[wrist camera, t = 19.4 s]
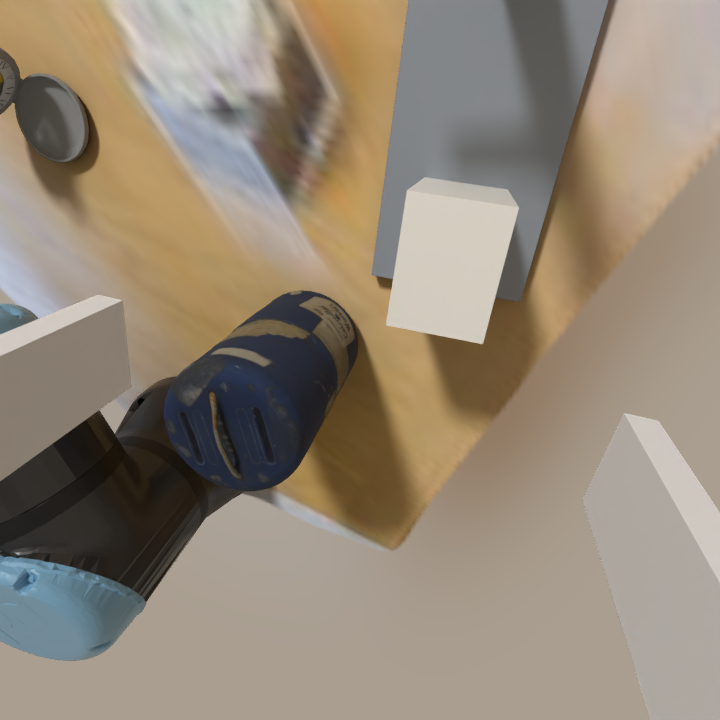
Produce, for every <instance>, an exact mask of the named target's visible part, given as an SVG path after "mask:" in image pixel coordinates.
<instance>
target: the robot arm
mask: <svg viewBox="0 0 720 720" xmlns="http://www.w3.org/2000/svg"><path fill="white" fill-rule="evenodd" d="M176 378H177V377H170V378H166V379H163V380H160V381H158V382H156V383H155V384H153V385H152V386H151V387H149V388H148V389H147V390H146V391H144V392H143V393H142V394H140V395H139V396H138V397H137V398H136V400H135V401H134V402H133V403H132V405H131V406H130V408H129V410H128V412H127V413H126V415H125V417H124V419H123V421H122V422H121V424H120V426H119V428H118V429H117V431H116V433H115V434H114V432H113V431H112V429H111V428H110V426H109V425H108V423H107V421H106V420H105V418H104V417H103V415H102V414H101V412H100V411H99V410H100V409H101V408H103V407H104V406H105V405H107V404H108V403H110V402H111V401H112V400H114V399H115V398H116V397H118V396H119V395H121V394H122V393H123V392H125V391H126V390H128V389H129V388H130V387H131V379H130V369H129V359H128V348H127V338H126V328H125V318H124V308H123V300H119V299H115V298H110V297H106V296H101V295H96V296H93V297H91V298H88V299H86V300H83V301H81V302H78V303H76V304H74V305H71V306H69V307H66V308H64V309H61V310H59V311H57V312H54V313H52V314H49V315H47V316H44V317H42V318H39V319H38V317H37V316H36V315H35V314H34V313H32V312H31V311H30V310H28V309H26V308H24V307H21V306H18V305H14V304H0V641H1V642H3V643H5V644H7V645H10V646H12V647H14V648H17V649H19V650H22V651H25V652H28V653H30V654H34V655H36V656H40V657H45V658H49V659H55V660H63V661H77V660H84V659H89V658H92V657H95V656H97V655H99V654H101V653H102V652H104V651H106V650H107V649H108V648H109V647H111V645H113V644H114V642H115V641H116V640H117V639H118V637H119V636H120V635H121V634H122V633H123V631H124V630H125V629H126V628H127V627H128V626H129V624H130V623H131V622H132V621H133V619H134V618H135V617H136V616H137V615H138V614H139V613H141V612H142V611H143V609H144V607H145V605H146V602H147V600H148V599H149V597H150V596H151V594H152V593H153V592H154V590H155V589H156V587H157V586H158V584H159V583H160V582H161V580H162V579H163V578H164V576H165V575H166V573H167V572H168V570H169V569H170V568H171V566H172V565H173V563H174V562H175V561H176V559H177V558H178V556H179V555H180V553H181V552H182V550H183V549H184V548H185V546H186V545H187V544H188V542H189V541H190V539H191V538H192V536H193V535H194V534H195V532H196V531H197V529H198V528H199V526H200V525H201V524H202V522H203V521H204V519H205V518H206V517H208V516H209V515H210V514H212V513H213V512H215V511H216V510H218V509H219V508H220V507H222V506H223V505H224V504H226V503H227V502H229V501H230V500H231V499H233V498H235V497H237V496H238V495H240V494H241V493H242V492H243V491H240V490H234V489H230V488H226V487H223V486H220V485H218V484H215V483H213V482H212V481H210V480H208V479H206V478H204V477H203V476H201V475H200V474H198V473H197V472H196V471H195V470H194V469H192V468H191V467H190V466H189V465H188V464H187V463H186V462H185V461H184V460H183V458H182V457H181V456H180V455H179V453H178V452H177V450H176V449H175V447H174V445H173V444H172V442H171V440H170V438H169V435H168V433H167V429H166V425H165V420H164V405H165V399H166V396H167V393H168V390H169V388H170V386H171V385H172V383H173V381H174V380H175V379H176ZM583 504H584V507H585V510H586V514H587V516H588V520H589V523H590V527H591V529H592V533H593V536H594V539H595V542H596V546H597V549H598V552H599V556H600V559H601V562H602V565H603V569H604V571H605V575H606V578H607V581H608V585H609V587H610V591H611V594H612V598H613V601H614V604H615V607H616V610H617V614H618V617H619V620H620V623H621V626H622V630H623V633H624V636H625V639H626V642H627V646H628V649H629V652H630V655H631V659H632V662H633V665H634V668H635V672H636V675H637V678H638V681H639V685H640V688H641V691H642V694H643V697H644V701H645V704H646V707H647V710H648V714H649V717H650V720H720V512H719V511H718V510H717V508H716V506H715V505H714V503H713V502H712V500H711V499H710V497H709V496H708V494H707V493H706V491H705V490H704V488H703V487H702V485H701V484H700V482H699V481H698V479H697V478H696V477H695V475H694V473H693V472H692V470H691V469H690V467H689V466H688V464H687V463H686V462H685V460H684V458H683V457H682V455H681V454H680V452H679V451H678V450H677V448H676V447H675V445H674V444H673V442H672V441H671V439H670V438H669V436H668V435H667V433H666V432H665V430H664V429H663V427H662V426H661V424H660V423H659V421H657V420H653V419H648V418H644V417H639V416H635V415H630V414H626V413H624V414H623V416H622V418H621V421H620V423H619V425H618V427H617V429H616V431H615V433H614V435H613V437H612V439H611V441H610V444H609V446H608V448H607V450H606V452H605V454H604V456H603V458H602V460H601V462H600V464H599V466H598V469H597V471H596V473H595V475H594V477H593V479H592V481H591V483H590V485H589V487H588V489H587V491H586V494H585V496H584V498H583Z"/></svg>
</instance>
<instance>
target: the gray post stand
mask: <svg viewBox="0 0 720 720" xmlns="http://www.w3.org/2000/svg"><path fill="white" fill-rule="evenodd" d="M607 4H608V0H408V7H407V15H406V22H405V30H404V37H403V45H402V52H401V60H400V67H399V75H398V82H397V90H396V97H395V104H394V112H393V119H392V127H391V134H390V142H389V149H388V157H387V164H386V172H385V179H384V187H383V194H382V202H381V209H380V217H379V224H378V231H377V239H376V246H375V254H374V261H373V269H372V275H374V276H379V277H385V278H390V279H393V276H394V270H395V264H396V257H397V251H398V244H399V238H400V232H401V225H402V219H403V212H404V206H405V200H406V193H407V190H408V189H409V188H411V187H412V186H414V185H415V184H416V183H418V182H419V181H420V180H422V179H423V178H424V177H427V178H434V179H441V180H448V181H454V182H461V183H468V184H475V185H481V186H488V187H495V188H502V189H508V191H509V192H510V194H511V195H512V197H513V199H514V200H515V202H516V203H517V205H518V207H519V210H518V214H517V217H516V221H515V225H514V229H513V232H512V236H511V240H510V244H509V247H508V251H507V255H506V259H505V263H504V266H503V270H502V274H501V278H500V281H499V285H498V289H497V293H496V296H495V298H500V299H505V300H511V301H516V302H520V301H521V297H522V294H523V290H524V287H525V284H526V280H527V277H528V273H529V270H530V267H531V263H532V260H533V256H534V253H535V249H536V246H537V243H538V239H539V236H540V232H541V229H542V226H543V222H544V219H545V215H546V212H547V208H548V205H549V202H550V198H551V195H552V191H553V188H554V185H555V181H556V178H557V174H558V171H559V167H560V164H561V161H562V157H563V154H564V150H565V147H566V144H567V140H568V137H569V133H570V130H571V126H572V123H573V120H574V116H575V113H576V109H577V106H578V103H579V99H580V96H581V92H582V89H583V86H584V82H585V79H586V75H587V72H588V68H589V65H590V62H591V58H592V55H593V51H594V48H595V45H596V41H597V38H598V34H599V31H600V27H601V24H602V21H603V17H604V14H605V10H606V7H607Z"/></svg>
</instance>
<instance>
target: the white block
mask: <svg viewBox="0 0 720 720" xmlns="http://www.w3.org/2000/svg"><path fill="white" fill-rule="evenodd" d="M518 210H519V207H518V205H517V203H516V202H515V200H514V199H513V197H512V195H511V194H510V192H509V191H508V189H502V188H495V187H488V186H481V185H475V184H468V183H461V182H454V181H448V180H441V179H434V178H427V177H424V178H423V179H422V180H420V181H419V182H418V183H416V184H415V185H414V186H412V187H411V188H409V189H408V190H407V193H406V200H405V206H404V212H403V219H402V225H401V232H400V238H399V244H398V251H397V257H396V264H395V270H394V276H393V283H392V289H391V296H390V302H389V308H388V315H387V321H386V325H388V326H393V327H398V328H403V329H408V330H413V331H418V332H423V333H428V334H433V335H438V336H443V337H448V338H453V339H458V340H464V341H469V342H474V343H479V344H483V342H484V338H485V334H486V330H487V327H488V323H489V319H490V315H491V311H492V308H493V304H494V300H495V296H496V293H497V289H498V285H499V281H500V278H501V274H502V270H503V266H504V263H505V259H506V255H507V251H508V247H509V244H510V240H511V236H512V232H513V229H514V225H515V221H516V217H517V214H518Z"/></svg>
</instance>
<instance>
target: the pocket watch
mask: <svg viewBox="0 0 720 720" xmlns="http://www.w3.org/2000/svg"><path fill="white" fill-rule="evenodd" d="M12 102H13V103H15V110H16V117H17V121H18V124H19V126H20V129H21V131H22V133H23V135H24V136H25V138H26V139H27V141H28V142H29V143H30V145H31V146H32V147H33V148H34V149H35V150H36V151H37V152H38V153H39V154H40V155H42V156H43V157H45V158H47V159H49V160H52V161H55V162H69V161H72V160H75V159H76V158H78V157H79V156H80V155H81V154H82V153H83V152H84V150H85V148H86V146H87V142H88V136H89V127H88V120H87V116H86V113H85V110H84V107H83V105H82V104H81V102H80V100H79V98H78V97H77V95H76V94H75V93H74V91H73V90H72V89H71V88H70V87H69V86H68V85H67V84H66V83H64V82H63V81H61V80H60V79H58V78H56V77H54V76H51V75H48V74H41V73H38V74H33V75H30V76H28V77H26V78H25V79H24V80H22V79H20V72H19V68H18V66H17V64H16V62H15V60H14V59H13V58H12V57H11V56H10V55H9V54H8V53H7V52H6V51H4V50H3V49H2V48H0V114H2V113H3V112H4V111H5V110H6V109H7V108H8V107H9V106H10V105H11V104H12Z"/></svg>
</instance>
